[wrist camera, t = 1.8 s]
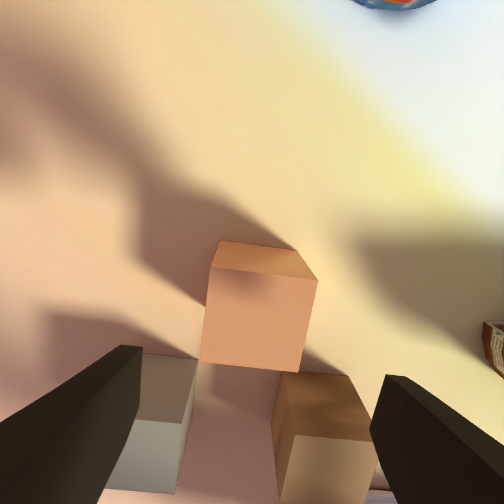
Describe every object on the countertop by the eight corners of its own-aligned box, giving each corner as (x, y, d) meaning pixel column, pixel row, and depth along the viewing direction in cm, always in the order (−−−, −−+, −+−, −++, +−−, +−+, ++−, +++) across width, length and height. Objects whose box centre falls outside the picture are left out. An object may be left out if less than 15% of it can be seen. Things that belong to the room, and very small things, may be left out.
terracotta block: (297, 250, 17) (318, 280, 12) (283, 319, 18) (298, 372, 13) (220, 240, 16) (210, 266, 12) (211, 310, 18) (199, 361, 13)
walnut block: (348, 375, 19) (383, 443, 14) (333, 429, 20) (361, 509, 15) (282, 368, 19) (295, 434, 14) (270, 423, 20) (279, 502, 15)
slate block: (198, 358, 18) (181, 423, 14) (191, 415, 19) (174, 494, 15) (127, 350, 18) (84, 414, 13) (125, 408, 19) (84, 486, 14)
